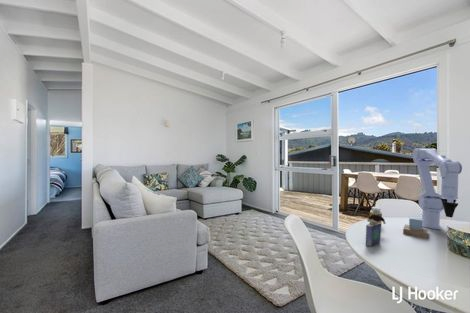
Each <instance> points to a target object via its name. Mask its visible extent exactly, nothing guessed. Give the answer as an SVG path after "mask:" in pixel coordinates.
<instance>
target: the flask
mask: <svg viewBox="0 0 470 313" xmlns="http://www.w3.org/2000/svg"><path fill="white" fill-rule="evenodd" d="M371 220H372V221H371ZM371 220H370V221H371V223H370V221H369V223H370V224H369V223H368V224H366V226H365V227H366V229H365V246H366V247H374V246H376V245H379V244H381V232H382V230H381V229H382V224H381V223H379V222H375V221H374V220H373V219H371Z"/></svg>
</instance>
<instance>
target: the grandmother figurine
mask: <svg viewBox="0 0 470 313" xmlns="http://www.w3.org/2000/svg"><path fill="white" fill-rule="evenodd" d="M380 212H382V211H381V209H380V210H379V209H378V208H374V209H373V213H374V215H371V216H370V215H369V217H368V218H367V222H368V223H370V220H371V219H373V220H374V221H375V222H379V223H380V220H381V221H382V223H383V225H385V224H386V220H385V219H384V218H383V216H382V217H381V216H379V213H380Z"/></svg>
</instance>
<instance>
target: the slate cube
mask: <svg viewBox="0 0 470 313" xmlns="http://www.w3.org/2000/svg"><path fill="white" fill-rule="evenodd" d="M408 219H409V220H408V222H409V223H408V225H409V229H414V230H420V231H422V228H423V227H422V217H418V216H417V217H416V216H409V218H408Z"/></svg>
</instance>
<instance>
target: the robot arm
mask: <svg viewBox="0 0 470 313" xmlns="http://www.w3.org/2000/svg"><path fill="white" fill-rule="evenodd" d="M412 159H413V163H414V165H416V166H417V169H418V174H419V178H420V183H421V188H422V193H420V194H419V195H418V197H417V198H418V206H419V209H421V212H422V213H421V215H422V216H421V218H422V228H428V229H433V230H441V229H442V228H441V224H440V220H441V213H442V211H444V214H445V217H446V218H453V217H454V214H455V211H456V209H457V207H458V206H459V203H458V202H457V200H458V199H459V197H458V194H459V192H458V191H459V190H458V189H459V175H460V174H461V173H462V170H463V165H462V163H460V161H453V160H451V159H450V158H448V157H447V156H446V155H444V154H441V155H440V154H438V150H437V149H436V148H422V147H421V148H417V147H415V148H414V149H413V151H412ZM433 164H434V165H435V166H436V167H437V168H438V169H439V174H440V175H439V176H440V177H441V191H440V194H439V193H438V192H436V190H435V186H434V181H433V179H432V178H433V177H432V173H431V170H430V166H431V165H433Z"/></svg>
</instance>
